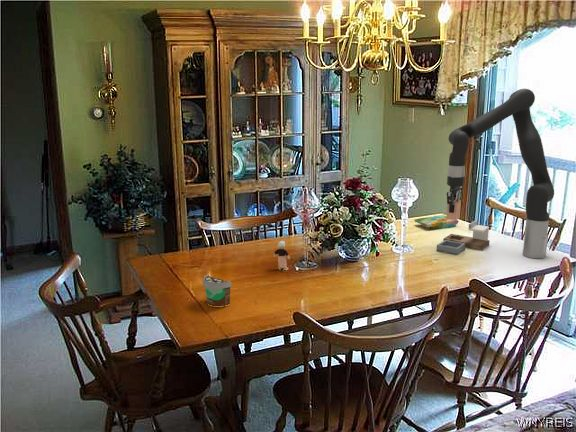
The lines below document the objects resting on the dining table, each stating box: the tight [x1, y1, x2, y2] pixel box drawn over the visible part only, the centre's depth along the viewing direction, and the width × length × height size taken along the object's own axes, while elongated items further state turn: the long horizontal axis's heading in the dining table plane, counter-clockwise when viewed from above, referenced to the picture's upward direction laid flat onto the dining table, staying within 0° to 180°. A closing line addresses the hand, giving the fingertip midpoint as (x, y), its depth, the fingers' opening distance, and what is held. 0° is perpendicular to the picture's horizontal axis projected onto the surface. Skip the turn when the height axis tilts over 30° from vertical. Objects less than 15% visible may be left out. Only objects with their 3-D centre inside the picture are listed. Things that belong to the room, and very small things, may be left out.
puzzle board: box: [442, 233, 491, 252], centre depth 268 cm, size 19×10×2 cm, turn 53°
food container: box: [202, 273, 232, 306], centre depth 202 cm, size 12×6×10 cm, turn 52°
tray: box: [435, 240, 466, 256], centre depth 260 cm, size 10×10×3 cm
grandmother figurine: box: [272, 240, 291, 271], centre depth 237 cm, size 8×4×13 cm, turn 74°
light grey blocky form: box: [467, 220, 490, 241], centre depth 264 cm, size 7×8×9 cm
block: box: [446, 200, 462, 220], centre depth 255 cm, size 4×4×8 cm
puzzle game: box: [413, 214, 459, 230], centre depth 299 cm, size 12×5×20 cm
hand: (453, 211), depth 255 cm, fingers closed on block, 4 cm apart
